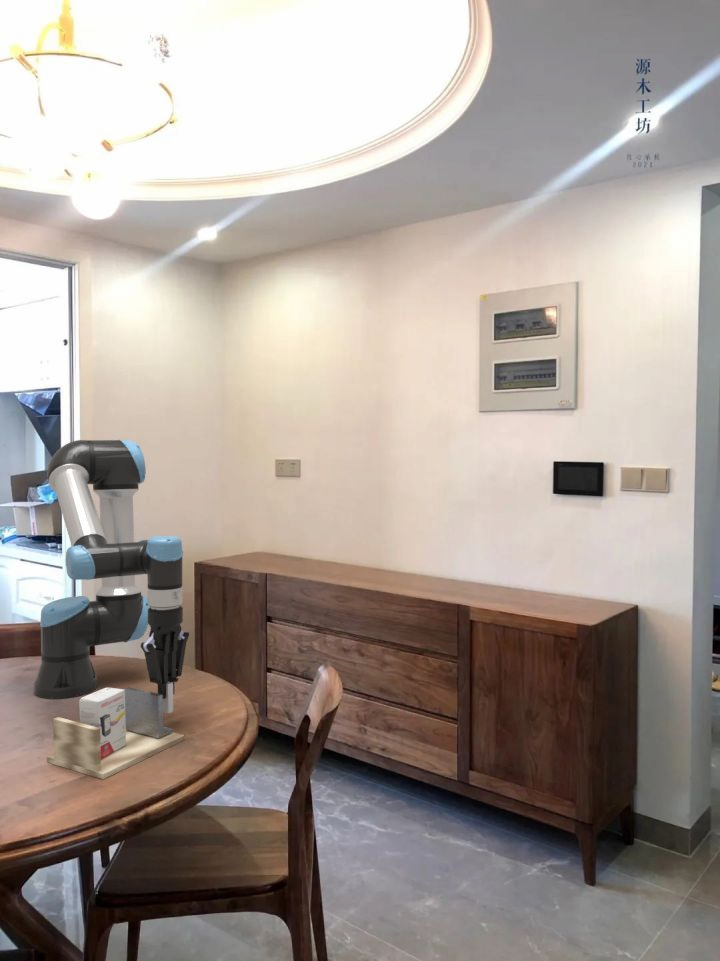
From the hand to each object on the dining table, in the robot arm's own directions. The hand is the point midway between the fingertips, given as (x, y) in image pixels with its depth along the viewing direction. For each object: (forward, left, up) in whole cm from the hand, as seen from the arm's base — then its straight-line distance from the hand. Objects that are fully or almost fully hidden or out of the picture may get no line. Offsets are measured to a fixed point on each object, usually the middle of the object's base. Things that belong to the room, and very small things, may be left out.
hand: (166, 711), depth 165 cm
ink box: (0, -17, -3) cm, 18 cm away
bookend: (0, -5, -3) cm, 6 cm away
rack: (0, -14, -4) cm, 14 cm away
